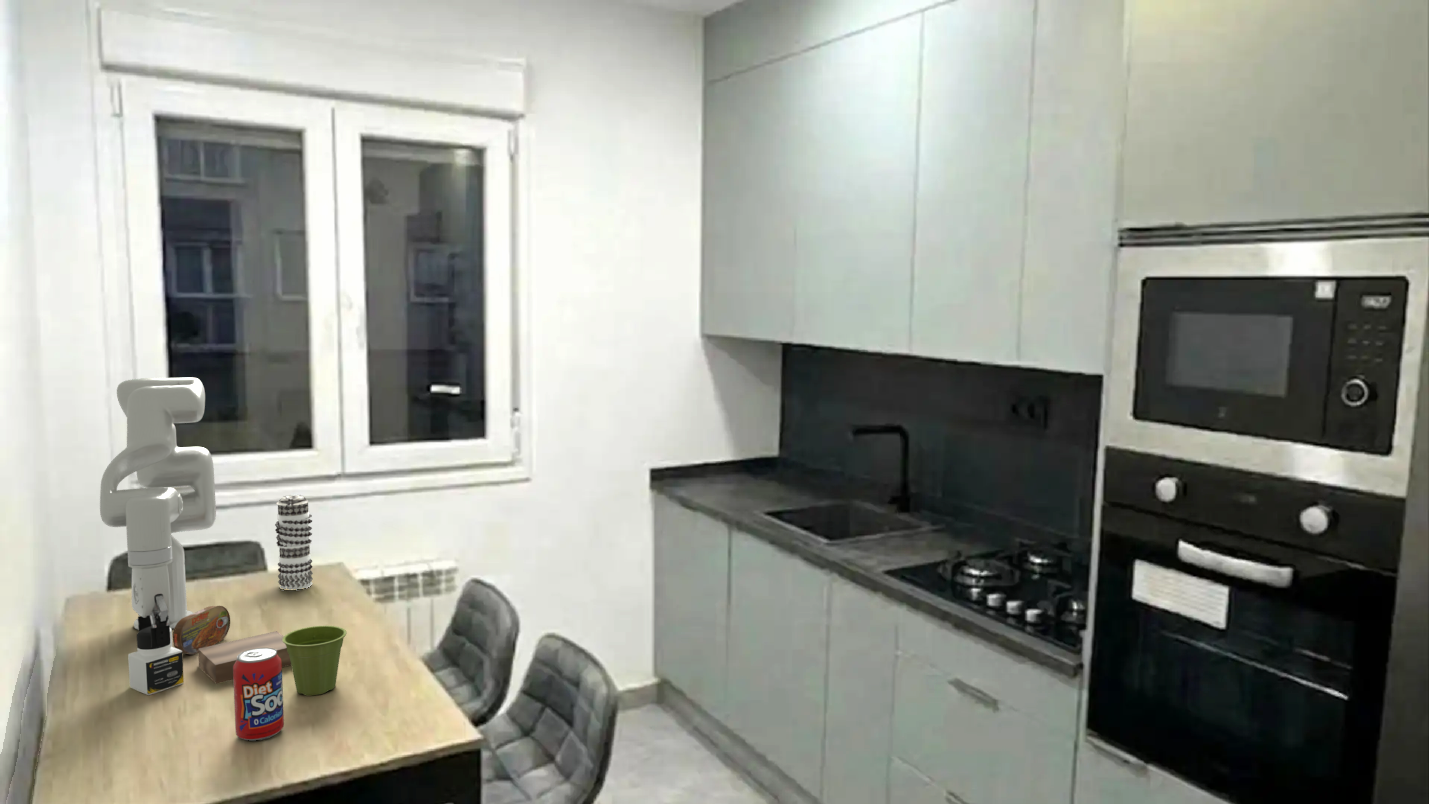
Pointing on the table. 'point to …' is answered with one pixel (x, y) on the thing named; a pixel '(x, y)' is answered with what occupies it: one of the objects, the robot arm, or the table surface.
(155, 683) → the medicine bottle
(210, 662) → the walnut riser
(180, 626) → the tin
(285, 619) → the table surface
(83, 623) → the table surface
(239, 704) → the soda can
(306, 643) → the plant pot
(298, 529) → the decorative candle
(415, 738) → the table surface
